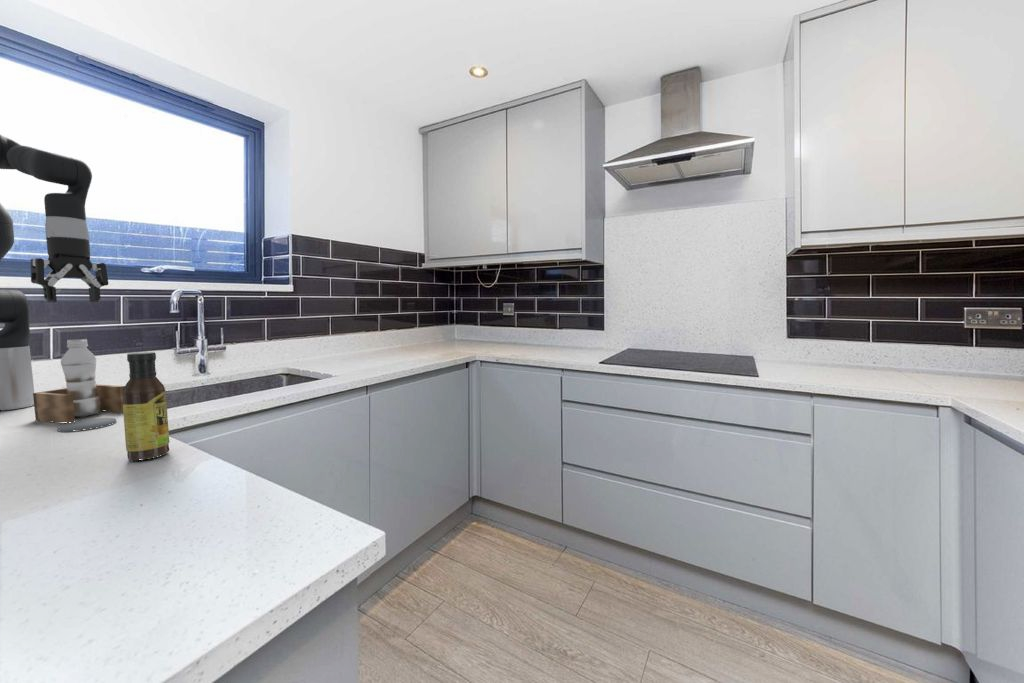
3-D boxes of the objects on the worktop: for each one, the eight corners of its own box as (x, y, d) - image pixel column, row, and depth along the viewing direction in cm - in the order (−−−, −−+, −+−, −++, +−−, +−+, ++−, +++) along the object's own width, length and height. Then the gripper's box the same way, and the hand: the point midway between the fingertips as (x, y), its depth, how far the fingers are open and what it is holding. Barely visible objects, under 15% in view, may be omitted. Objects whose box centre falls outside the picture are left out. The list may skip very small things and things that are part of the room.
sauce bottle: (168, 458, 80) (160, 353, 78) (124, 465, 77) (114, 355, 75) (172, 448, 85) (164, 350, 84) (130, 454, 82) (122, 352, 80)
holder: (35, 420, 107) (32, 393, 106) (95, 408, 119) (93, 384, 118) (68, 424, 104) (66, 395, 103) (126, 411, 116) (124, 386, 115)
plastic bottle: (109, 413, 114) (102, 338, 112) (81, 419, 107) (73, 340, 106) (87, 412, 115) (80, 338, 113) (58, 419, 108) (50, 340, 106)
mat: (46, 430, 99) (46, 427, 99) (98, 418, 108) (98, 416, 108) (76, 433, 96) (75, 430, 96) (126, 421, 106) (126, 419, 105)
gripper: (92, 241, 115) (97, 302, 116) (19, 233, 101) (26, 302, 103) (111, 240, 113) (116, 302, 114) (40, 232, 99) (46, 302, 101)
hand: (73, 302), depth 109 cm, fingers open, 8 cm apart
